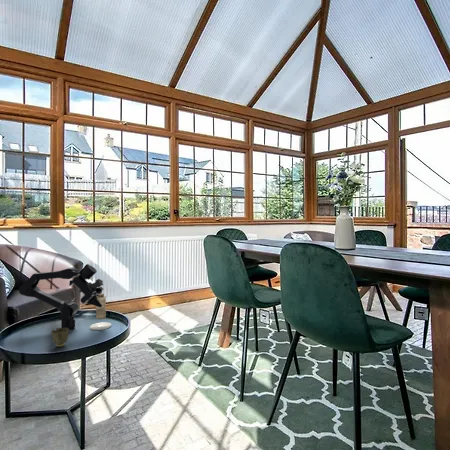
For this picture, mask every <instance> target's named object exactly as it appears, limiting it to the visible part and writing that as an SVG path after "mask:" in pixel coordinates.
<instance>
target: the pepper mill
mask: <svg viewBox="0 0 450 450" xmlns="http://www.w3.org/2000/svg"><path fill="white" fill-rule="evenodd" d="M96 298H97V300H98V301H99V302H100V303H101V305H102V307H98V306H95V318H96V319H97V320H103V319H106V318H107V317H106V315H107V313H106V312H107V307H106V306H107V305H106V303H107V302H106V301H107V296H105V293H102V294H98V296H97V297H96Z"/></svg>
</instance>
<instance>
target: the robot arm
mask: <svg viewBox="0 0 450 450" xmlns="http://www.w3.org/2000/svg"><path fill="white" fill-rule="evenodd" d="M96 273H97V269H96V267H94V266H92V265H90V264H88V263H87V264H85V265H84V267H83V268H82V269H77V268H76V267H74V266H73V267H68V268H65V269H62V270H54V271H53V270H52V271H46V272H45V271H43V272H35V273H32V274H31V276H30V277H29V278H28V279H27V280H26V281H25V282H23V284H21V285H20V286H19V287H18V294H20V295H21V296H24V297H29V298H35V299H37V300H39V301H40V302H44V303H45V304H47V305H50V306H51V307H54V308H55V309H57V310H58V311H59V313H60V314H58V316H57V318H58V320H59V321H60V327H61V328H62V329H63V328H66V327H67V328H69V331H72V330H75V328H76V319H75V317H74V316H75V315H76V313H77V312H78V311H79V306H78V304H77V303H76V301H72V300H71V299H67V300H65V301H64V300H62V299H60V298H58V297H55V296H53V295H51V294H49V293H48V292H45V291H43V290H41V289H40V287H38V285H39V283H40V281H41V280H51V279H52V280H53V279H62V280H69V284H68V286H70V287H71V286H73V285H74V286H75V287H76V288H77V289H78V290H79V291H78V292H79V293H82V294H83V296H82V297H81V298H80V303H82V305H83V304H89V305H92V306H95V307H96V306H98V307H102V305H101V303H100V302H99V301H98V300H97V298H96V297H97V296H98V294H103V290H104V288H103V287H102V286H103V285H104V281H103V280H102V279H100V278H98V279H95V282H93V283H92V282H89V281H87V280H90V279H92V277H93V276H94V275H96ZM70 279H71V280H70Z"/></svg>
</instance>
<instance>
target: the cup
mask: <svg viewBox="0 0 450 450" xmlns="http://www.w3.org/2000/svg"><path fill="white" fill-rule="evenodd" d="M69 332H70V330H69V328H67V327H66V328H63V329H62V328H61V326H60V327H59V328H57V327H56V329H51V337H52V341H53V343H54V344H55V345H56V348H63V347H65V346H66V345H65V344H66V343H67V341H68V339H69Z"/></svg>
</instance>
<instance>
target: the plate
mask: <svg viewBox="0 0 450 450" xmlns="http://www.w3.org/2000/svg"><path fill="white" fill-rule="evenodd" d="M111 327H112V323H111V322H106V321H103V322H102V321H101V322H95V323H93V324H91V325H89V329H90V330H92V331H103V330H107V329H109V328H111Z"/></svg>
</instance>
